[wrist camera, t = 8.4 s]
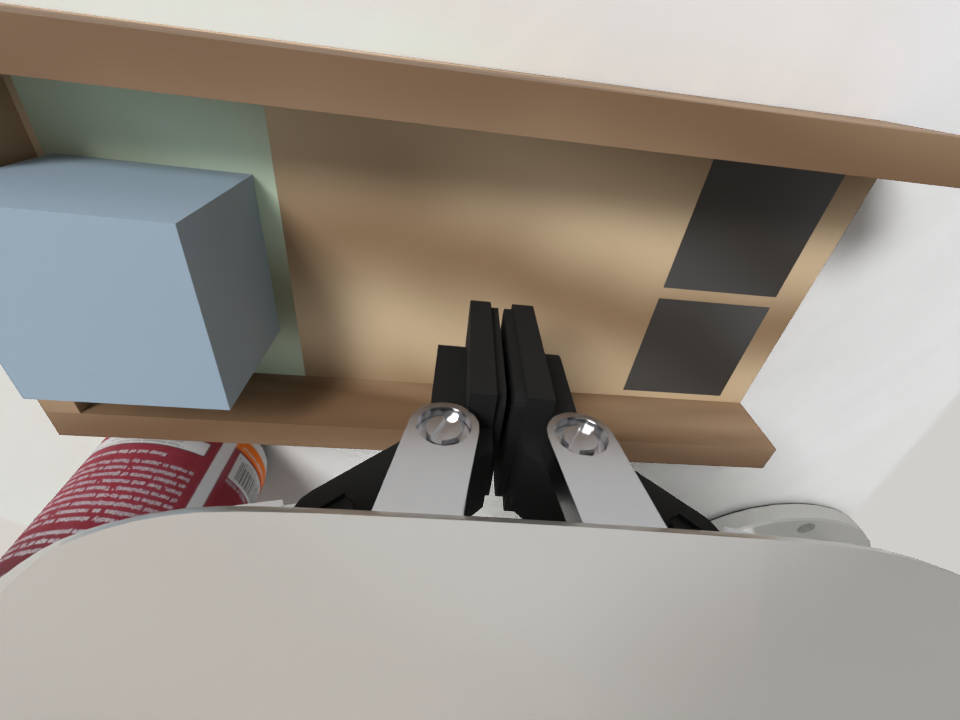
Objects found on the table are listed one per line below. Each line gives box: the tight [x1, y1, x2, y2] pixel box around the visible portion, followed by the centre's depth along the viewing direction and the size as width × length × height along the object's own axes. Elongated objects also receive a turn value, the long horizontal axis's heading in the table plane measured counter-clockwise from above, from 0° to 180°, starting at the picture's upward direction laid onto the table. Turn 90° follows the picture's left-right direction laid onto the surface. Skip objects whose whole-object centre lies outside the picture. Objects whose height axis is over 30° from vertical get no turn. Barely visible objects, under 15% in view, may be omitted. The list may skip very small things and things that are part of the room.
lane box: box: [0, 3, 960, 468], centre depth 13 cm, size 11×24×4 cm, turn 84°
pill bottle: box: [0, 437, 267, 578], centre depth 15 cm, size 6×6×11 cm
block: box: [0, 153, 280, 410], centre depth 11 cm, size 5×5×4 cm
